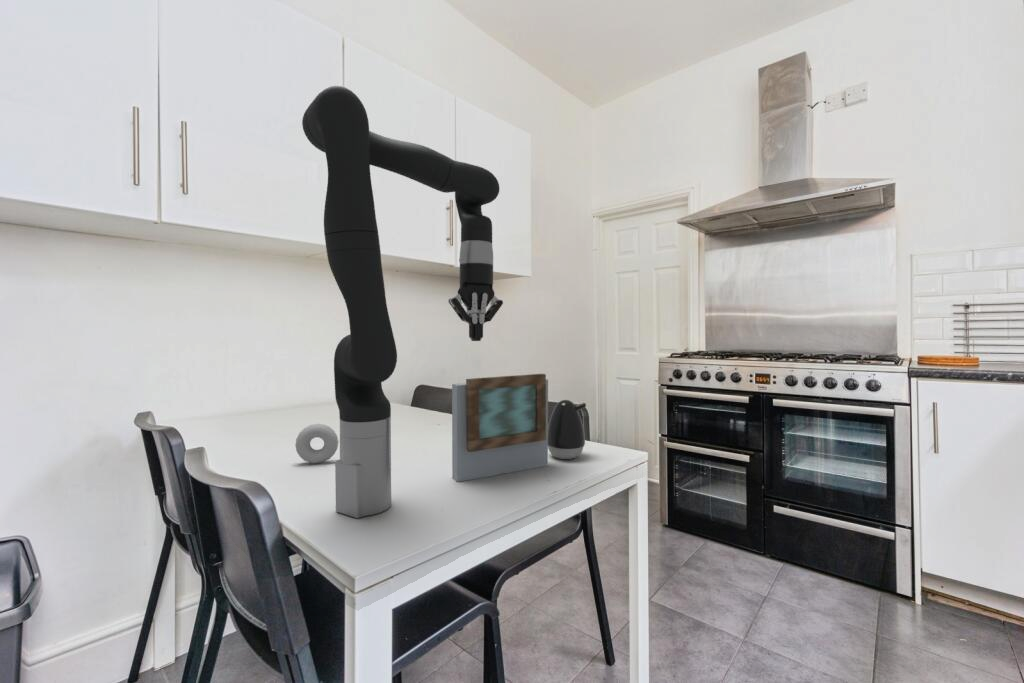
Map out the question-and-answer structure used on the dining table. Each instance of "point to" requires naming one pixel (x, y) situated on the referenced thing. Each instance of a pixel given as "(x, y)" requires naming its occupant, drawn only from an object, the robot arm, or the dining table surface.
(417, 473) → the dining table surface
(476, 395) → the picture frame
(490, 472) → the wall board
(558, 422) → the black electric kettle
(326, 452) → the donut
